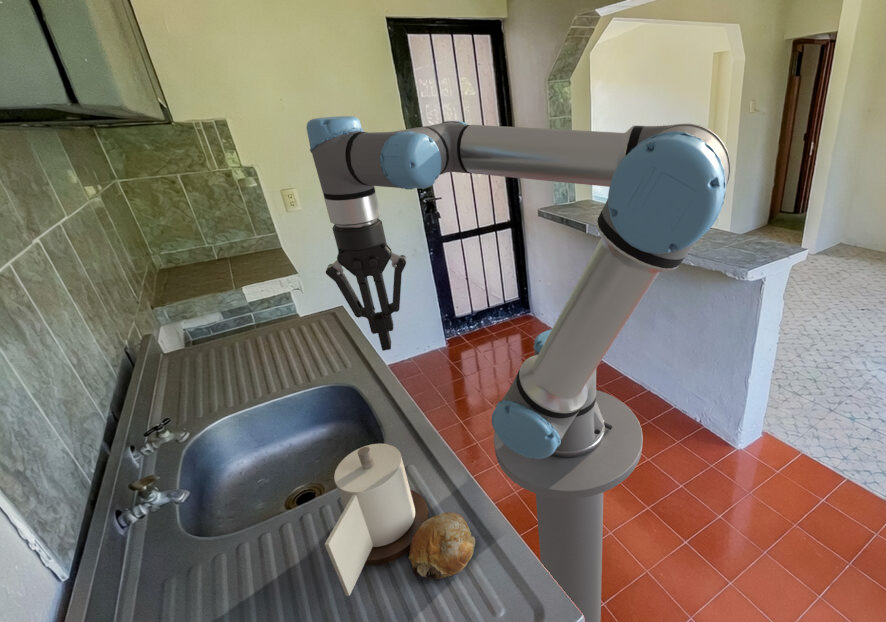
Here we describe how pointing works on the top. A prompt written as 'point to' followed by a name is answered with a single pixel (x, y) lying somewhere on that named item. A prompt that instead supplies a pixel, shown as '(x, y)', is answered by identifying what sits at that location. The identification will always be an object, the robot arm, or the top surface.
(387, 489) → the paper towel roll
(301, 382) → the top surface
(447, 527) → the bread roll
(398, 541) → the towel holder
